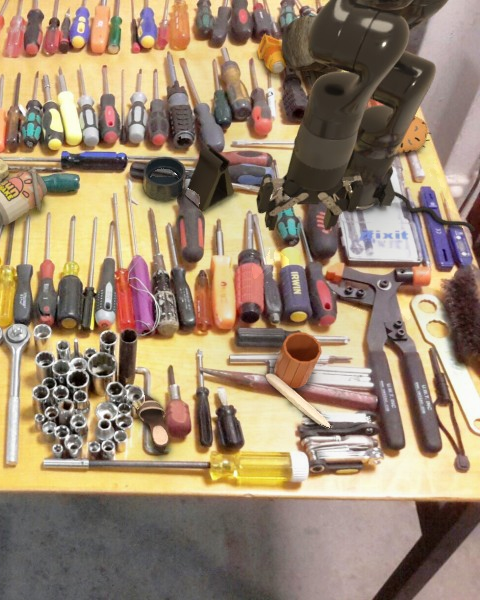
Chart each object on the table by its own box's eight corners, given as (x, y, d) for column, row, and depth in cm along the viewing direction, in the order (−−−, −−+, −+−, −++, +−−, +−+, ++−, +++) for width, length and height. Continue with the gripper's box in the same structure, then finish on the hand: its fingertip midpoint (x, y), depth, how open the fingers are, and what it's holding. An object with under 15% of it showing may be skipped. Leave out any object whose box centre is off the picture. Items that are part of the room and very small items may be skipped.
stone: (270, 31, 154) (299, 32, 164) (288, 88, 155) (316, 86, 165) (316, 3, 145) (344, 6, 155) (336, 64, 145) (362, 64, 155)
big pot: (183, 173, 142) (185, 156, 138) (184, 202, 137) (186, 186, 133) (143, 173, 143) (144, 156, 139) (143, 202, 138) (143, 185, 134)
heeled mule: (157, 394, 111) (157, 384, 108) (177, 451, 105) (177, 442, 102) (132, 400, 111) (132, 390, 108) (151, 458, 105) (151, 449, 101)
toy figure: (263, 76, 158) (256, 51, 166) (284, 80, 159) (276, 55, 166) (272, 57, 154) (264, 32, 161) (293, 61, 155) (284, 35, 162)
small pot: (306, 359, 113) (318, 332, 106) (310, 389, 110) (323, 364, 102) (272, 358, 114) (282, 331, 106) (275, 387, 110) (286, 362, 103)
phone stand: (201, 211, 135) (207, 170, 125) (184, 195, 138) (188, 154, 128) (233, 193, 137) (241, 151, 128) (215, 178, 141) (222, 136, 131)
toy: (415, 116, 145) (424, 102, 140) (434, 151, 141) (445, 137, 137) (364, 129, 145) (372, 115, 140) (383, 164, 141) (391, 151, 136)
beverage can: (11, 237, 135) (54, 208, 139) (5, 211, 128) (51, 181, 132) (-14, 212, 139) (28, 185, 143) (-21, 186, 132) (24, 158, 136)
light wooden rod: (326, 435, 105) (329, 431, 103) (262, 378, 111) (264, 374, 110) (332, 429, 105) (335, 425, 104) (268, 373, 112) (270, 368, 111)
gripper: (272, 168, 84) (254, 245, 97) (383, 166, 83) (349, 244, 96) (266, 131, 88) (249, 209, 102) (371, 127, 87) (340, 207, 100)
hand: (298, 226), depth 99 cm, fingers open, 8 cm apart
